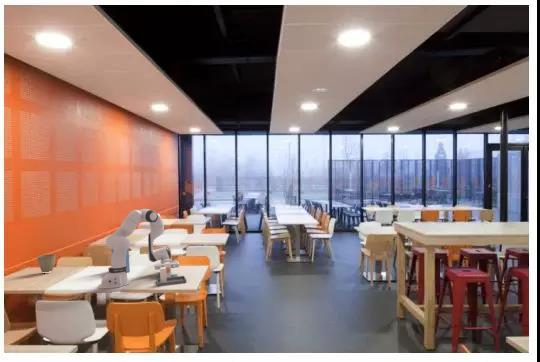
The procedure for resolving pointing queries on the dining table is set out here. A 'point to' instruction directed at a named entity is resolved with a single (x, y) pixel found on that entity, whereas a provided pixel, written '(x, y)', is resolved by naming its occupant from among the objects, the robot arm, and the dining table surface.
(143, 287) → the dining table surface
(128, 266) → the gum box
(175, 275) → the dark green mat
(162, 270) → the plain box
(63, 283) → the dining table surface
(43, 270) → the plant pot
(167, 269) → the labelled box
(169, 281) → the charcoal tray
